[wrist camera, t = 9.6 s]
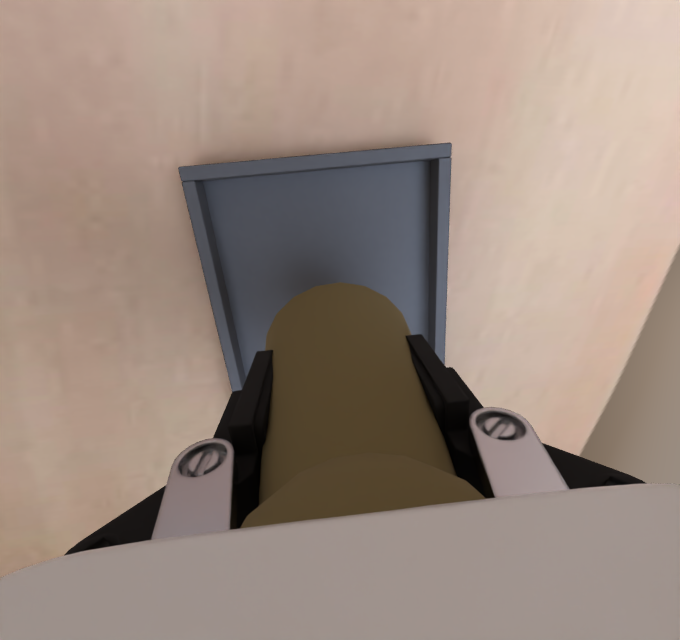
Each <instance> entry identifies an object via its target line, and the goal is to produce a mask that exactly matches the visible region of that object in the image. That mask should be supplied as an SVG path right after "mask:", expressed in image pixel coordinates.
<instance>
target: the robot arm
mask: <svg viewBox="0 0 680 640" xmlns="http://www.w3.org/2000/svg"><path fill="white" fill-rule="evenodd" d="M406 338H407V340H408V344H409V348H410V353H411V358H412V362H413V364H414V367H415V369H416V372H417V374H418V377H419V379H420V381H421V384H422V386H423V389H424V391H425V394H426V396H427V398H428V401H429V403H430V406H431V408H432V411H433V413H434V416H435V419H436V421H437V423H438V426H439V428H440V430H441V432H442V434H443V436H444V439H445V441H446V444H447V447H448V450H449V453H450V456H451V459H452V462H453V465H454V469H455V472H456V475H457V477H459V478H461V479H463V480H466V481H467V482H468V483H469V484H470V485H471V486H473V487H474V488H475V489H476V490H477V491H478V492H479V493H481V494H482V495H483V496H484V497H485V498H486V499H480V500H472V501H463V502H454V503H445V504H437V505H428V506H420V507H413V508H405V509H398V510H391V511H382V512H374V513H365V514H357V515H348V516H340V517H331V518H322V519H313V520H304V521H296V522H288V523H280V524H272V525H264V526H256V527H249V528H241V529H240V527H241V526H242V524H243V522H244V520H245V519H246V517H247V516H248V515H249V514H250V513H251V512H252V511H254V510H255V509H256V508H257V507H258V506H259V484H260V468H261V457H262V448H263V445H264V443H265V441H266V433H267V424H268V416H269V408H270V399H271V391H272V383H273V365H272V353H273V350H266V351H257V352H256V354H255V357H254V360H253V362H252V365H251V367H250V370H249V373H248V375H247V378H246V381H245V383H244V386H243V388H242V390H238V391H233V393H232V394H231V397H230V399H229V402H228V404H227V406H226V409H225V411H224V413H223V416H222V418H221V420H220V423H219V425H218V427H217V430H216V432H215V435H214V437H213V438H211V439H205V440H202V441H199V442H197V443H195V444H193V445H191V446H189V447H188V448H186V449H185V450H184V451H182V452H181V453H180V454H179V455H178V456H177V458H176V459H175V460H174V462H173V464H172V467H171V470H170V474H169V477H168V481H167V484H166V486H164V487H163V488H161V489H160V490H158V491H157V492H155V493H154V494H152V495H150V496H149V497H147V498H146V499H144V500H143V501H141V502H140V503H138V504H137V505H135V506H134V507H132V508H131V509H129V510H128V511H126V512H125V513H123V514H121V515H120V516H118V517H117V518H115V519H114V520H112V521H111V522H109V523H108V524H106V525H105V526H103V527H102V528H100V529H99V530H97V531H95V532H94V533H92V534H91V535H89V536H88V537H86V538H85V539H83V540H82V541H80V542H79V543H78V544H76V545H75V546H74V547H73V548H71V549H70V550H69V551H68V552H67V553H66V554H65V555H64V556H61V557H57V558H53V559H50V560H47V561H44V562H40V563H37V564H34V565H31V566H28V567H25V568H22V569H19V570H17V571H15V572H12V573H10V574H8V575H5V576H3V577H0V640H680V484H647V483H645V482H643V481H642V480H639V479H637V478H635V477H633V476H631V475H628V474H625V473H623V472H620V471H617V470H614V469H612V468H609V467H606V466H604V465H601V464H598V463H595V462H592V461H590V460H587V459H585V458H582V457H579V456H576V455H574V454H571V453H568V452H565V451H563V450H560V449H557V448H554V447H552V446H549V445H546V444H544V443H542V442H541V441H540V439H539V437H538V436H537V434H536V432H535V431H534V429H533V427H532V426H531V424H530V423H529V422H528V421H527V420H526V419H525V418H524V417H522V416H521V415H519V414H517V413H515V412H513V411H511V410H507V409H503V408H497V407H486V408H484V407H483V406H482V405H481V404H480V402H479V401H478V400H477V398H476V397H475V396H474V394H473V393H472V392H471V391H470V389H469V388H468V387H467V385H466V384H465V383H464V381H463V380H462V379H461V378H460V376H459V375H458V374H457V372H456V371H455V370H454V369H453V368H451V367H449V368H446V367H445V365H444V364H443V363H442V361H441V360H440V359H439V357H438V356H437V355H436V353H435V352H434V350H433V349H432V348H431V346H430V345H429V344H428V342H427V341H426V340H425V338H424V337H423V335H422V334H417V335H407V336H406Z"/></svg>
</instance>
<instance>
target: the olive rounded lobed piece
mask: <svg viewBox="0 0 680 640" xmlns="http://www.w3.org/2000/svg"><path fill="white" fill-rule="evenodd" d="M407 335H411V332H410V330H409V327H408V325H407V323H406V321H405V318H404V316H403V314H402V312H401V311H400V310H399V309H398V308H397V307H396V306H395V305H394V304H393V303H392V302H391V301H390V300H389V299H388V298H387V297H386V296H384V295H382V294H380V293H378V292H376V291H374V290H372V289H370V288H368V287H366V286H362V285H355V284H349V283H342V282H339V283H333V284H326V285H320V286H315V287H313V288H311V289H309V290H307V291H305V292H303V293H301V294H299V295H297V296H295V297H293V298H292V299H291V300H290V301H289V302H288V303H287V304H286V305H285V306H284V307H283V308H282V309H281V310H280V311H279V312H278V313H277V314H276V316H275V318H274V320H273V322H272V324H271V326H270V328H269V330H268V333H267V336H266V345H265V351H266V350H273V353H272V365H273V383H272V391H271V399H270V408H269V416H268V424H267V433H266V441H265V443H264V445H263V448H262V457H261V468H260V484H259V506H258V507H257V508H256V509H255V510H254V511H252V512H251V513H250V514H249V515H248V516H247V517H246V519H245V520H244V522H243V524H242V526H241V527H240V529H241V528H249V527H256V526H264V525H272V524H280V523H288V522H296V521H304V520H313V519H322V518H331V517H340V516H348V515H357V514H365V513H374V512H382V511H391V510H398V509H405V508H413V507H420V506H428V505H437V504H445V503H454V502H463V501H472V500H480V499H486V498H485V497H484V496H483V495H482V494H481V493H479V492H478V491H477V490H476V489H475V488H474V487H473V486H471V485H470V484H469V483H468V482H467V481H466V480H463V479H461V478H459V477H457V475H456V472H455V469H454V465H453V462H452V459H451V456H450V453H449V450H448V447H447V444H446V441H445V439H444V436H443V434H442V432H441V430H440V428H439V426H438V423H437V421H436V419H435V416H434V413H433V411H432V408H431V406H430V403H429V401H428V398H427V396H426V394H425V391H424V389H423V386H422V384H421V381H420V379H419V377H418V374H417V372H416V369H415V367H414V364H413V362H412V358H411V353H410V348H409V344H408V340H407V338H406V336H407Z"/></svg>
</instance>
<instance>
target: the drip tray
mask: <svg viewBox="0 0 680 640" xmlns="http://www.w3.org/2000/svg"><path fill="white" fill-rule="evenodd" d="M451 149H452V144H451V143H440V144H429V145H418V146H407V147H396V148H384V149H373V150H362V151H351V152H340V153H328V154H317V155H306V156H295V157H284V158H273V159H261V160H250V161H239V162H228V163H217V164H205V165H194V166H183V167H179V168H178V169H179V173H180V178H181V181H183V182H182V186H183V190H184V194H185V198H186V202H187V206H188V211H189V215H190V219H191V223H192V227H193V231H194V235H195V240H196V244H197V248H198V252H199V256H200V260H201V264H202V269H203V273H204V277H205V281H206V285H207V289H208V293H209V298H210V302H211V306H212V310H213V314H214V318H215V322H216V327H217V331H218V335H219V339H220V343H221V347H222V351H223V356H224V360H225V364H226V368H227V372H228V376H229V380H230V385H231V389H232V393H233V391H238V390H242V388H243V386H244V383H245V381H246V378H247V375H248V373H249V370H250V367H251V365H252V362H253V360H254V357H255V354H256V352H257V351H265V345H266V336H267V333H268V330H269V328H270V326H271V324H272V322H273V320H274V318H275V316H276V314H277V313H278V312H279V311H280V310H281V309H282V308H283V307H284V306H285V305H286V304H287V303H288V302H289V301H290V300H291V299H292V298H293V297H295V296H297V295H299V294H301V293H303V292H305V291H307V290H309V289H311V288H313V287H315V286H320V285H326V284H333V283H339V282H342V283H349V284H355V285H362V286H366V287H368V288H370V289H372V290H374V291H376V292H378V293H380V294H382V295H384V296H386V297H387V298H388V299H389V300H390V301H391V302H392V303H393V304H394V305H395V306H396V307H397V308H398V309H399V310H400V311H401V312H402V314H403V316H404V318H405V321H406V323H407V325H408V327H409V330H410V332H411V335H417V334H422V335H423V337H424V338H425V340H426V341H427V342H428V344H429V345H430V346H431V348H432V349H433V350H434V352H435V353H436V355H437V356H438V357H439V359H440V360H441V361H442V363H443V364H444V363H445V333H446V302H447V272H448V242H449V212H450V182H451V158H450V157H451Z"/></svg>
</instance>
